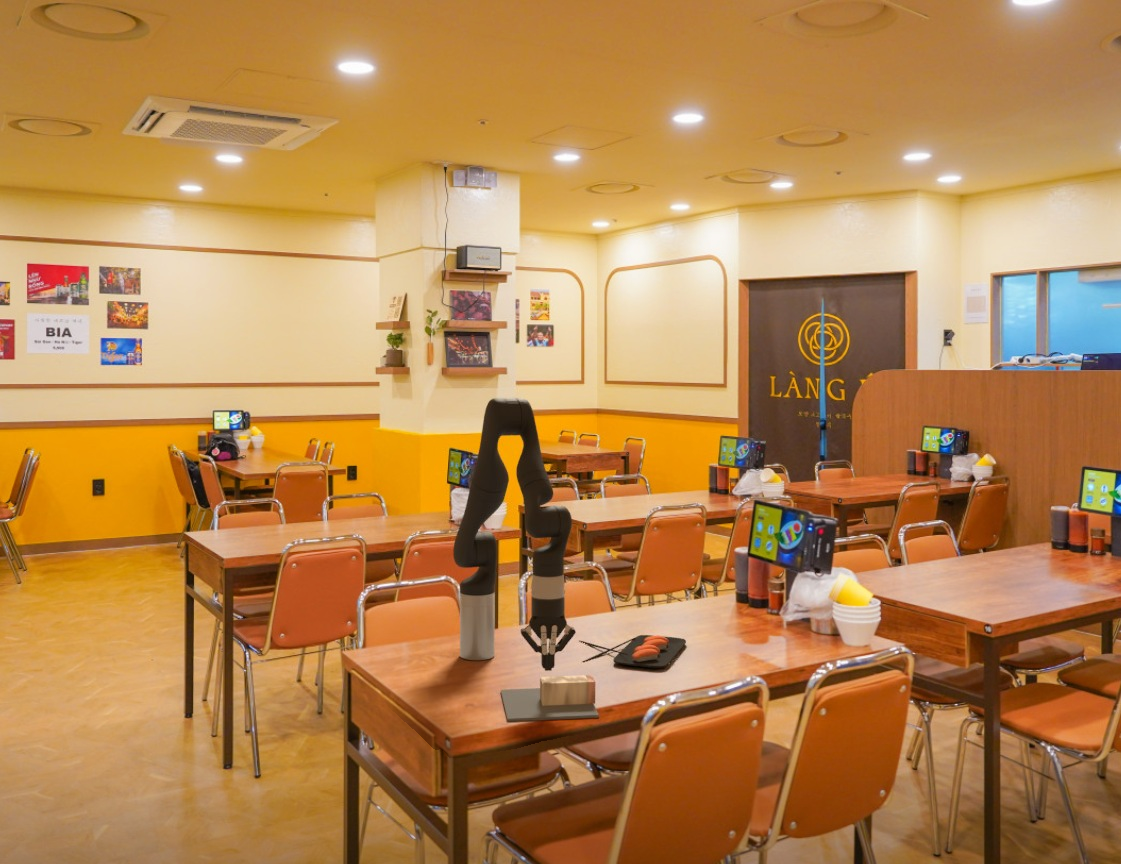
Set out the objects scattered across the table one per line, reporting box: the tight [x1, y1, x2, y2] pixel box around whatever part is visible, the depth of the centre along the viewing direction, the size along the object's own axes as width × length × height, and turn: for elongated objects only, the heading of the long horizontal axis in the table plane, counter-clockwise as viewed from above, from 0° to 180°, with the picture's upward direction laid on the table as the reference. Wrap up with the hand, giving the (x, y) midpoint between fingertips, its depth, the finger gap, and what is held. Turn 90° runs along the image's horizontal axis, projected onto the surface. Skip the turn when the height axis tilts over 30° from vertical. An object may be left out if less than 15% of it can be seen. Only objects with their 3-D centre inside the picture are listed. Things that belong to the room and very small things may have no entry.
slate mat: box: [500, 687, 600, 722], centre depth 222 cm, size 20×20×1 cm
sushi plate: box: [580, 634, 687, 669], centre depth 265 cm, size 29×30×4 cm
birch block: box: [539, 674, 596, 706], centre depth 222 cm, size 5×5×12 cm
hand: (547, 669), depth 222 cm, fingers closed
